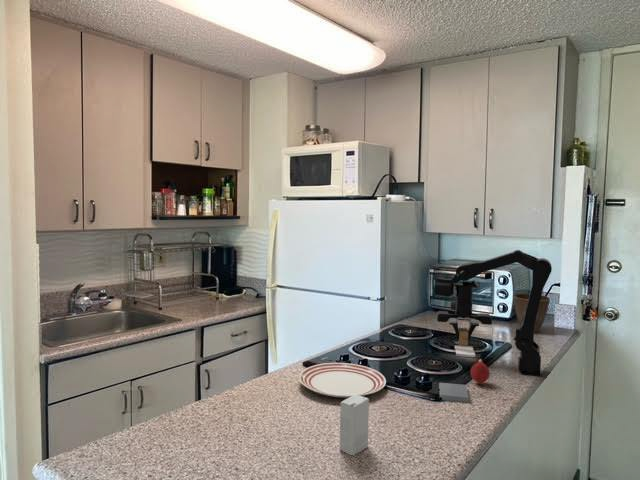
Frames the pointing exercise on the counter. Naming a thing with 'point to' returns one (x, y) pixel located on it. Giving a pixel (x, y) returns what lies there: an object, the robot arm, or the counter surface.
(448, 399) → the tile
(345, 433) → the skincare box
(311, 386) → the dinner plate
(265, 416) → the counter surface
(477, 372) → the onion
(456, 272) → the robot arm
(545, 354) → the counter surface
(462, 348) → the turner
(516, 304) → the plant pot
